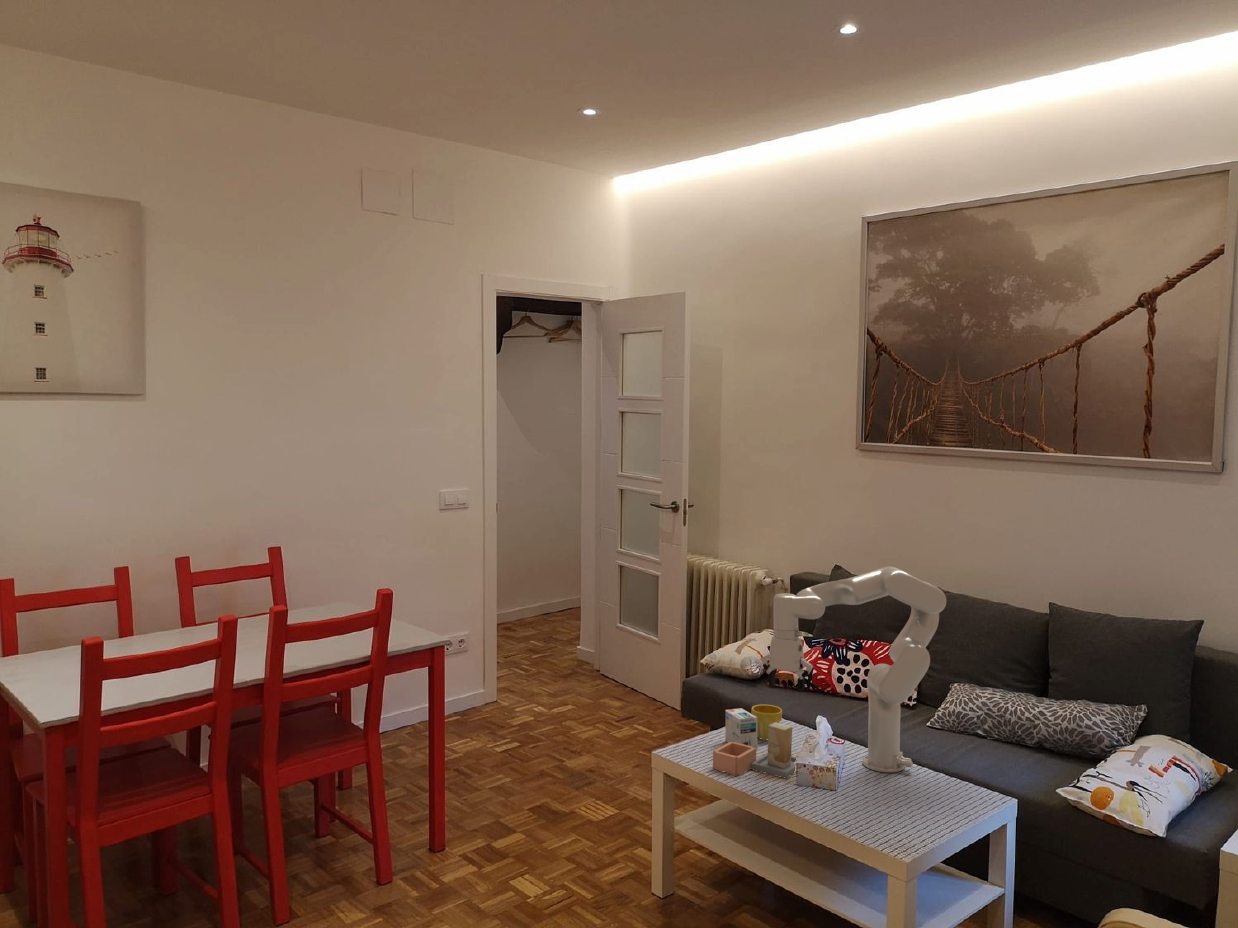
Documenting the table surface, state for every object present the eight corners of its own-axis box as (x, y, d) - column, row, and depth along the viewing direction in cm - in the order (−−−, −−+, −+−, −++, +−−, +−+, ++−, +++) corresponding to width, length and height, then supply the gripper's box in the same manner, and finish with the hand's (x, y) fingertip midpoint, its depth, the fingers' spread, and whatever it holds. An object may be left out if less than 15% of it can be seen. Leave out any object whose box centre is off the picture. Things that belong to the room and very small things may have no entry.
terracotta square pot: (756, 764, 275) (757, 747, 275) (738, 776, 266) (738, 758, 266) (730, 757, 281) (730, 740, 281) (711, 768, 272) (712, 751, 272)
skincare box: (766, 763, 274) (767, 724, 273) (774, 759, 277) (774, 721, 276) (784, 769, 269) (785, 729, 269) (792, 765, 273) (792, 726, 272)
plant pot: (786, 735, 302) (786, 707, 302) (774, 744, 293) (775, 715, 293) (758, 729, 307) (758, 702, 307) (746, 738, 299) (746, 710, 298)
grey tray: (805, 765, 275) (805, 759, 275) (786, 778, 264) (786, 772, 264) (771, 756, 282) (771, 750, 282) (751, 769, 272) (751, 762, 272)
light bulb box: (758, 749, 289) (758, 716, 288) (740, 751, 286) (740, 719, 286) (741, 738, 299) (742, 707, 298) (724, 741, 296) (724, 709, 296)
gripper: (817, 634, 271) (817, 689, 272) (766, 627, 282) (766, 680, 282) (806, 639, 265) (807, 695, 266) (755, 632, 276) (755, 686, 276)
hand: (786, 688), depth 274 cm, fingers open, 9 cm apart
